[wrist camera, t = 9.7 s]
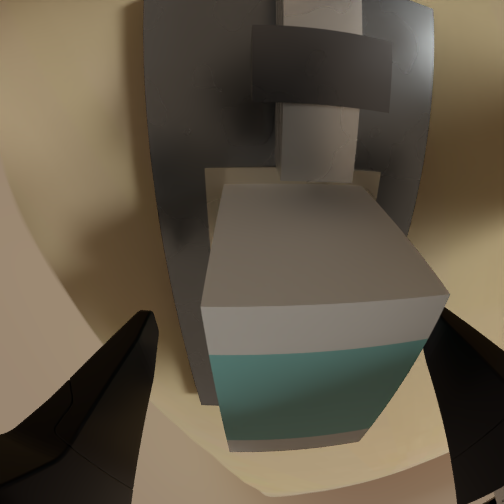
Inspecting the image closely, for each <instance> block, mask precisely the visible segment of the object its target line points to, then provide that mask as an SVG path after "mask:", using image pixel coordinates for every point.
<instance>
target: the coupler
mask: <svg viewBox="0 0 504 504" xmlns="http://www.w3.org/2000/svg"><path fill="white" fill-rule="evenodd" d="M449 296H450V293H449V292H448V290H447V289H446V288H445V286H444V285H443V283H442V282H441V281H440V279H439V278H438V277H437V275H436V274H435V272H434V271H433V270H432V268H431V267H430V266H429V265H428V263H427V262H426V261H425V259H424V258H423V257H422V255H421V254H420V253H419V252H418V250H417V249H416V248H415V247H414V245H413V244H412V243H411V242H410V240H409V239H408V238H407V237H406V236H405V234H404V233H403V232H402V231H401V230H400V228H399V227H398V226H397V225H396V224H395V222H394V221H393V220H392V219H391V218H390V217H389V216H388V214H387V213H386V212H385V211H384V210H383V209H382V208H381V207H380V205H379V204H378V203H377V202H376V201H375V200H374V199H373V198H372V197H371V196H370V194H369V193H368V192H367V191H366V190H365V189H364V188H363V187H362V186H356V185H331V184H224V186H223V191H222V196H221V200H220V205H219V210H218V215H217V220H216V225H215V230H214V235H213V241H212V246H211V251H210V256H209V262H208V267H207V273H206V278H205V284H204V290H203V295H202V301H201V313H202V319H203V325H204V330H205V336H206V342H207V347H208V353H209V358H210V363H211V368H212V373H213V378H214V383H215V388H216V393H217V398H218V403H219V407H220V412H221V416H222V421H223V425H224V430H225V434H226V438H227V442H228V446H229V451H230V452H266V451H286V450H299V449H309V448H318V447H326V446H334V445H340V444H347V443H353V442H358V441H360V440H361V438H362V437H363V436H364V435H365V433H366V432H367V431H368V430H369V428H370V427H371V426H372V424H373V423H374V422H375V420H376V419H377V418H378V416H379V415H380V414H381V412H382V411H383V410H384V408H385V407H386V405H387V404H388V403H389V401H390V400H391V398H392V397H393V395H394V394H395V392H396V391H397V389H398V388H399V386H400V385H401V383H402V382H403V380H404V379H405V377H406V375H407V374H408V372H409V371H410V369H411V367H412V366H413V364H414V362H415V361H416V359H417V357H418V356H419V354H420V352H421V350H422V349H423V347H424V345H425V343H426V342H427V340H428V338H429V336H430V334H431V332H432V330H433V328H434V327H435V325H436V323H437V321H438V319H439V317H440V315H441V313H442V311H443V308H444V306H445V304H446V302H447V300H448V298H449Z"/></svg>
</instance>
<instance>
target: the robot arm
mask: <svg viewBox="0 0 504 504" xmlns="http://www.w3.org/2000/svg"><path fill="white" fill-rule="evenodd" d="M158 336H159V331H158V327H157V323H156V320H155V317H154V314H153V312H152V311H148V310H140V311H138V312H137V313H136V314H135V315H134V316H133V317H132V318H131V319H130V320H129V321H128V322H127V323H126V324H125V325H124V326H123V327H122V328H121V329H120V330H118V331H117V332H116V333H115V334H114V335H113V336H112V337H111V338H110V339H109V340H108V341H107V342H106V343H105V344H104V345H103V346H102V347H101V348H100V349H99V350H98V351H97V352H96V353H95V354H94V355H93V356H92V357H91V358H90V359H89V360H88V361H87V362H86V363H85V364H84V365H83V366H82V367H81V368H80V369H79V370H78V371H77V372H76V373H75V374H74V375H73V376H72V377H71V378H70V380H68V381H67V382H66V383H65V384H64V385H63V386H62V387H61V388H60V389H59V390H58V391H57V392H56V393H55V394H54V395H53V396H52V397H51V398H49V399H48V400H47V401H46V402H45V403H44V404H43V405H41V406H40V407H39V408H38V409H37V410H36V411H34V412H33V413H32V414H31V415H30V416H29V417H27V418H26V419H25V420H24V421H23V422H21V423H20V424H19V425H18V426H17V427H15V428H14V429H13V430H11V431H9V432H7V433H4V434H1V435H0V504H131V501H132V493H133V490H132V489H133V486H134V479H135V473H136V466H137V460H138V455H139V448H140V443H141V438H142V432H143V427H144V422H145V416H146V411H147V407H148V402H149V398H150V393H151V388H152V384H153V379H154V371H155V362H156V353H157V344H158ZM423 350H424V355H425V359H426V363H427V366H428V370H429V373H430V376H431V379H432V383H433V386H434V390H435V393H436V397H437V401H438V404H439V408H440V412H441V416H442V420H443V424H444V429H445V433H446V438H447V442H448V447H449V452H450V457H451V464H452V470H453V475H454V483H455V490H456V498H457V504H468V503H470V502H473V501H475V500H477V499H479V498H482V497H484V496H486V495H488V494H490V493H492V492H494V495H495V496H494V497H493V498H491V499H490V500H488V501H487V502H485V503H483V504H504V351H503V350H502V349H501V348H499V347H498V346H497V345H495V344H494V343H493V342H492V341H490V340H489V339H488V338H486V337H485V336H484V335H482V334H481V333H480V332H478V331H477V330H476V329H474V328H473V327H472V326H470V325H469V324H467V323H466V322H465V321H463V320H462V319H461V318H459V317H458V316H456V315H455V314H454V313H452V312H451V311H450V310H448V309H447V308H445V307H444V308H443V311H442V313H441V315H440V317H439V319H438V321H437V323H436V325H435V327H434V328H433V330H432V332H431V334H430V336H429V338H428V340H427V342H426V343H425V345H424V347H423Z"/></svg>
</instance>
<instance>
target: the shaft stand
mask: <svg viewBox="0 0 504 504" xmlns="http://www.w3.org/2000/svg"><path fill="white" fill-rule="evenodd" d="M143 44H144V77H145V96H146V111H147V124H148V135H149V145H150V155H151V163H152V172H153V180H154V187H155V195H156V202H157V209H158V215H159V222H160V228H161V234H162V240H163V245H164V251H165V256H166V262H167V267H168V272H169V277H170V282H171V287H172V292H173V296H174V301H175V306H176V310H177V314H178V319H179V323H180V327H181V331H182V336H183V340H184V344H185V348H186V351H187V355H188V359H189V363H190V367H191V370H192V374H193V378H194V381H195V385H196V388H197V392H198V395H199V398H200V402H201V405H217V406H219V403H218V398H217V393H216V388H215V383H214V378H213V373H212V368H211V363H210V358H209V353H208V347H207V342H206V336H205V330H204V325H203V319H202V313H201V301H202V295H203V290H204V284H205V278H206V273H207V267H208V262H209V256H210V251H211V246H212V241H213V235H214V230H215V225H216V220H217V215H218V210H219V205H220V200H221V196H222V191H223V186H224V184H331V185H356V186H362V187H363V188H364V189H365V190H366V191H367V192H368V193H369V194H370V196H371V197H372V198H373V199H374V200H375V201H376V202H377V203H378V204H379V205H380V207H381V208H382V209H383V210H384V211H385V212H386V213H387V214H388V216H389V217H390V218H391V219H392V220H393V221H394V222H395V224H396V225H397V226H398V227H399V228H400V230H401V231H402V232H403V233H404V234H405V236H406V237H407V235H408V231H409V227H410V223H411V219H412V215H413V211H414V207H415V202H416V198H417V193H418V189H419V184H420V179H421V173H422V168H423V162H424V156H425V150H426V143H427V136H428V129H429V121H430V111H431V101H432V88H433V70H434V18H433V9H432V8H429V7H426V6H424V5H421V4H418V3H415V2H413V1H410V0H144V17H143Z"/></svg>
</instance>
